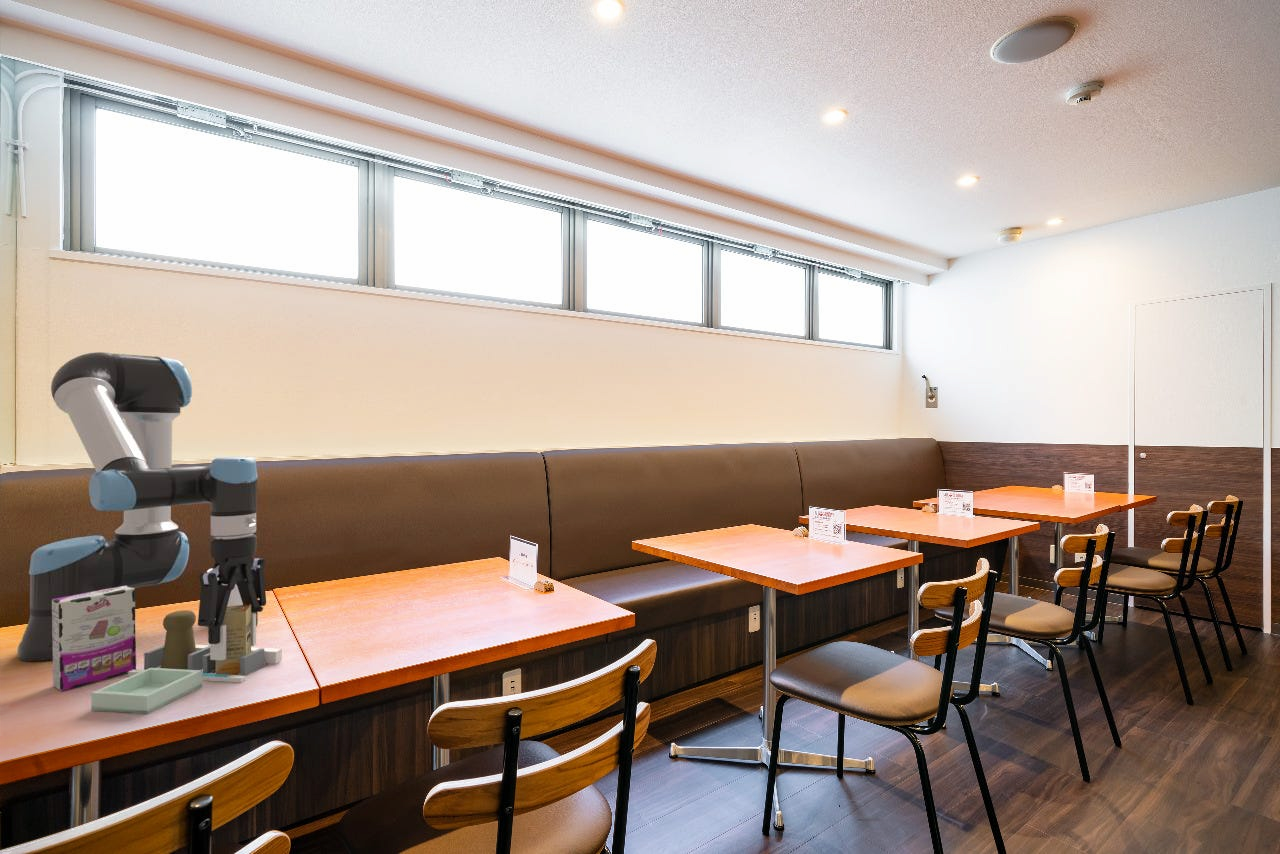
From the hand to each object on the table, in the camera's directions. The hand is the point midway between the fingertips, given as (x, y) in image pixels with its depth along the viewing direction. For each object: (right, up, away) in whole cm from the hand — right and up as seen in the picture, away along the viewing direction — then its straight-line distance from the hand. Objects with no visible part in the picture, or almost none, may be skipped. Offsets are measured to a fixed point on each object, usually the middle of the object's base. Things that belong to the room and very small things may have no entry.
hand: (233, 651), depth 117 cm
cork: (-12, -4, +2) cm, 13 cm away
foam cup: (-21, -4, +30) cm, 37 cm away
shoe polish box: (0, -4, 0) cm, 4 cm away
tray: (-7, -4, -12) cm, 14 cm away
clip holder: (-6, -4, +1) cm, 7 cm away
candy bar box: (-24, -4, -4) cm, 24 cm away
